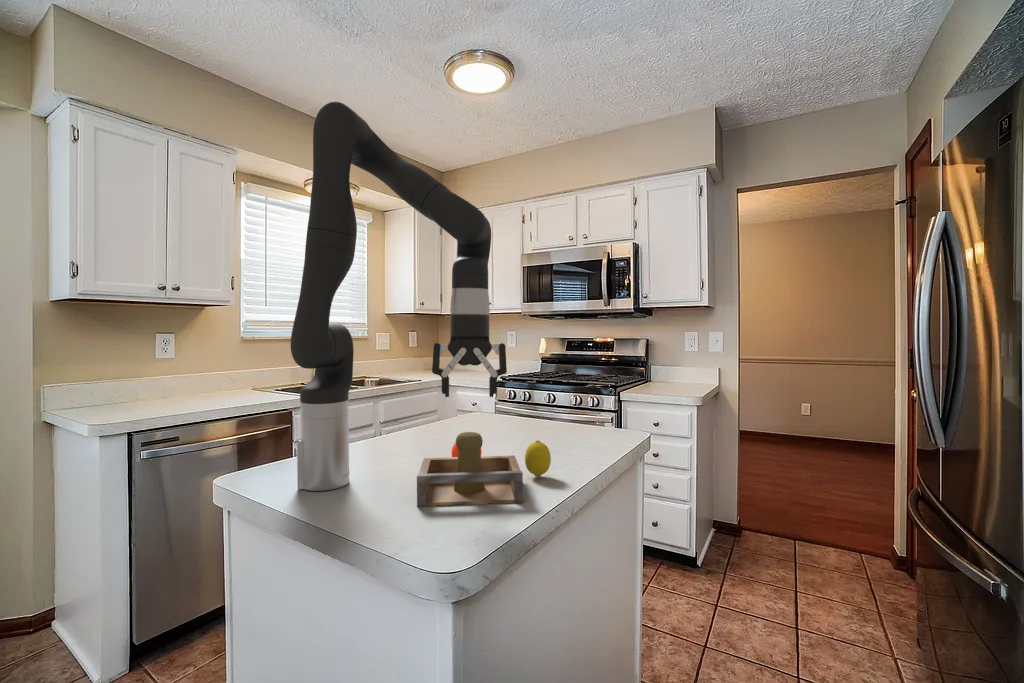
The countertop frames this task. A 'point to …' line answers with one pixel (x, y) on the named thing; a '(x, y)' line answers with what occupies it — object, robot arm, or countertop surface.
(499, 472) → the box
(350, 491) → the countertop surface
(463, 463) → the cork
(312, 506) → the countertop surface
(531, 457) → the lemon
